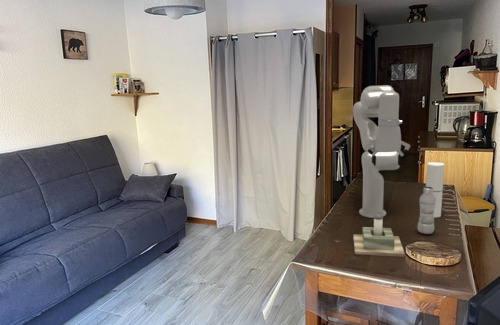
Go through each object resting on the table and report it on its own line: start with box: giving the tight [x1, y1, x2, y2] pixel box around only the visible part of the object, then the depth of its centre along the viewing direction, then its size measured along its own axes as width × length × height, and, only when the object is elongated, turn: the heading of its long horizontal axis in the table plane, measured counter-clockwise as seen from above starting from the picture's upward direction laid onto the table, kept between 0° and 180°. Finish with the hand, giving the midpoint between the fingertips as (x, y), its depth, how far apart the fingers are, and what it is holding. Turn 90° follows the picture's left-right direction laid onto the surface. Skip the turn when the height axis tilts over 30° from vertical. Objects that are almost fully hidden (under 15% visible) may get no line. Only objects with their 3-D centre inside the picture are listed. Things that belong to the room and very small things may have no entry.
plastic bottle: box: [417, 186, 436, 235], centre depth 159 cm, size 6×7×20 cm
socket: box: [352, 226, 406, 258], centre depth 151 cm, size 16×18×6 cm
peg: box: [373, 214, 384, 236], centre depth 150 cm, size 3×3×12 cm
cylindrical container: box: [425, 161, 445, 219], centre depth 178 cm, size 7×7×25 cm
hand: (386, 165), depth 156 cm, fingers open, 9 cm apart
